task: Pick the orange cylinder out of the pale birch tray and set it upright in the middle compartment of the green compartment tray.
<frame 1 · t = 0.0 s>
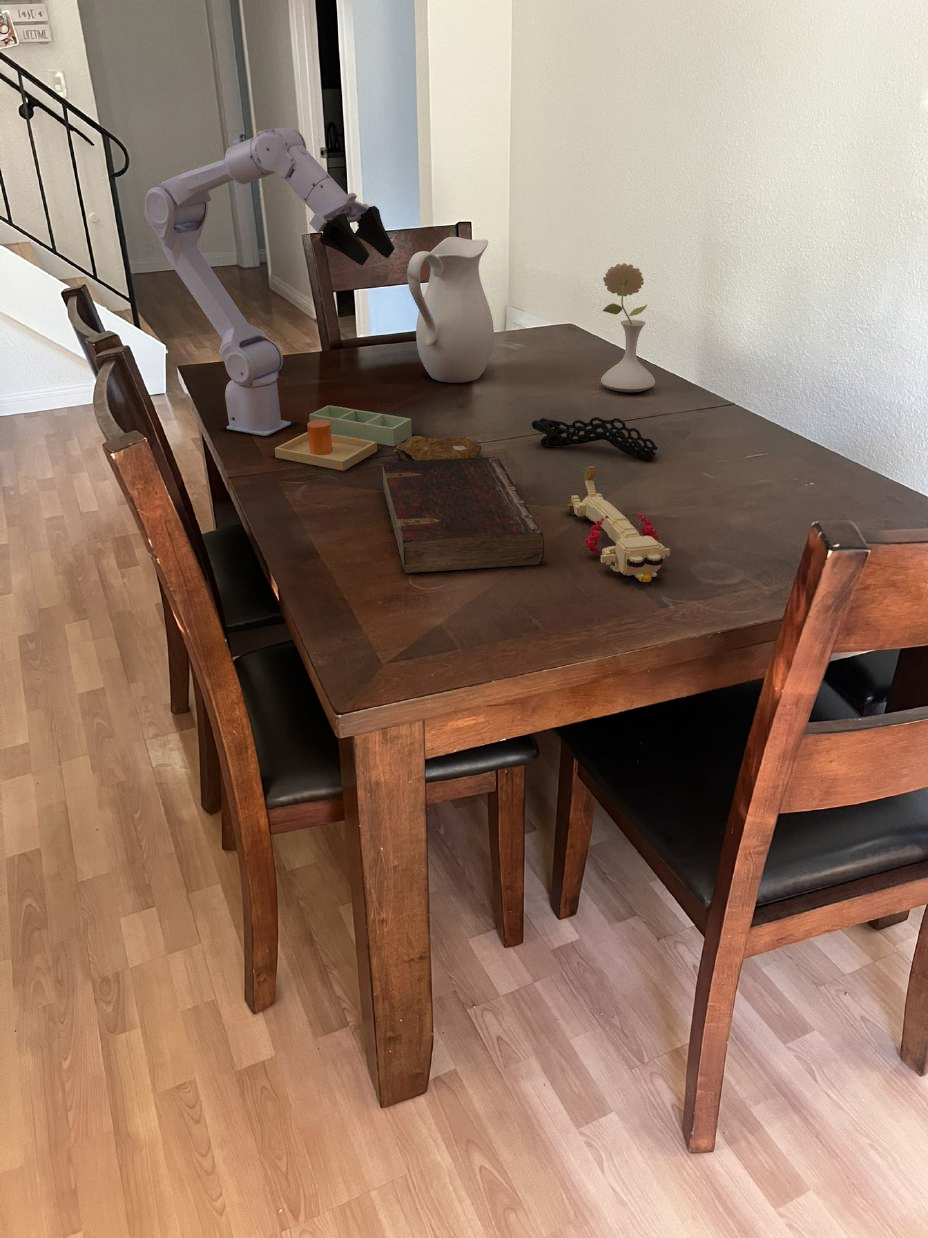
hand: (378, 256, 142), 32 cm above the table, tool tilted 50°, fingers open, 7 cm apart
orange cylinder: (321, 450, 157), resting on birch tray
birch tray: (326, 454, 157), on the table
decorative element: (591, 451, 158), on the table
hardback book: (456, 526, 132), on the table
green compartment tray: (360, 433, 167), on the table
flower in vase: (623, 389, 191), on the table
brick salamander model: (613, 548, 125), on the table
decorative rock: (438, 463, 154), on the table
pitcher: (446, 380, 197), on the table
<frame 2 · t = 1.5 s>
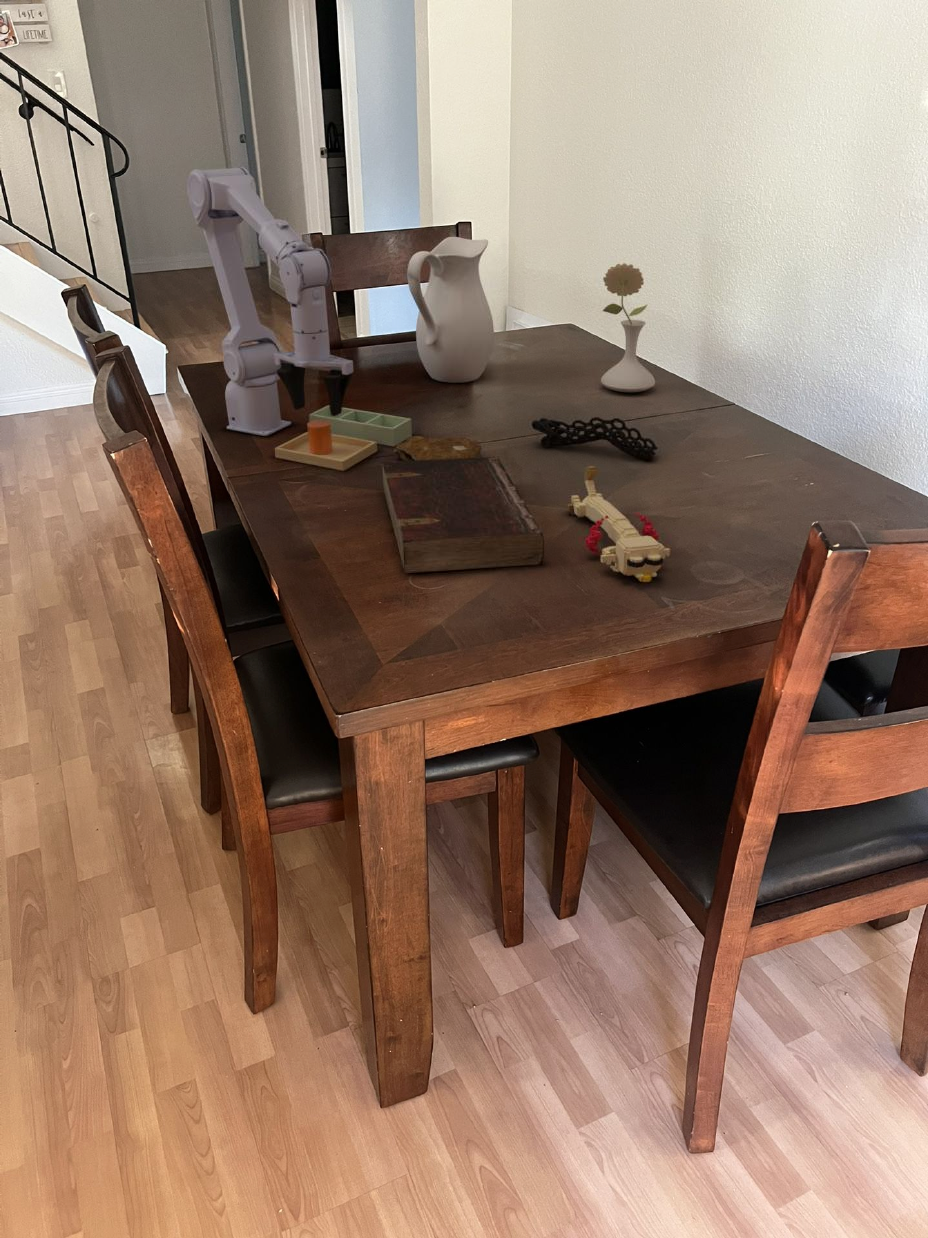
hand: (317, 411, 154), 8 cm above the table, tool pointing down, fingers open, 7 cm apart
nothing on the table moved.
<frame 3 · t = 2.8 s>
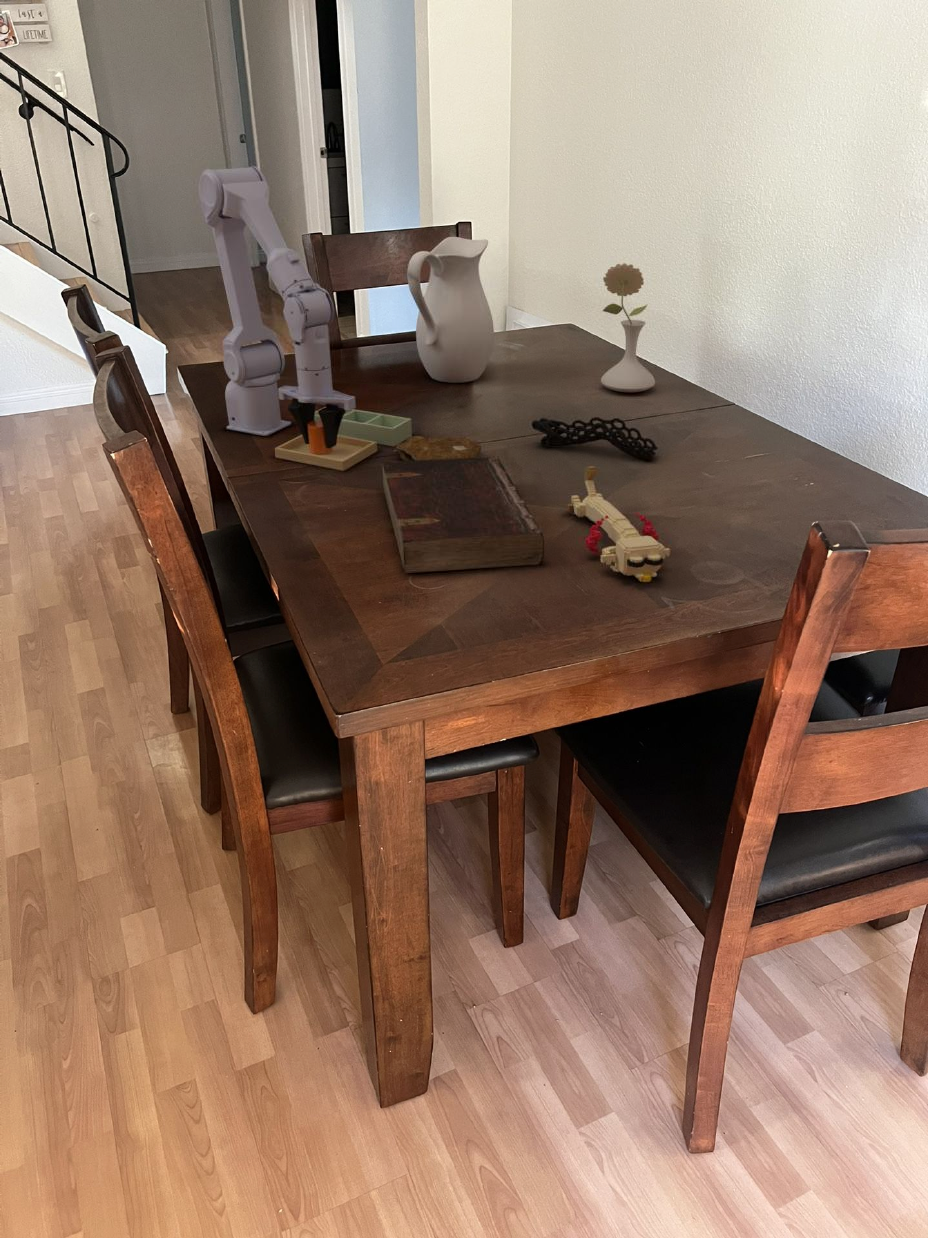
hand: (320, 444, 157), 2 cm above the table, tool pointing down, fingers closed on orange cylinder, 4 cm apart
orange cylinder: (321, 450, 157), point 1 cm above the table, touching birch tray, gripper
everything else where it was.
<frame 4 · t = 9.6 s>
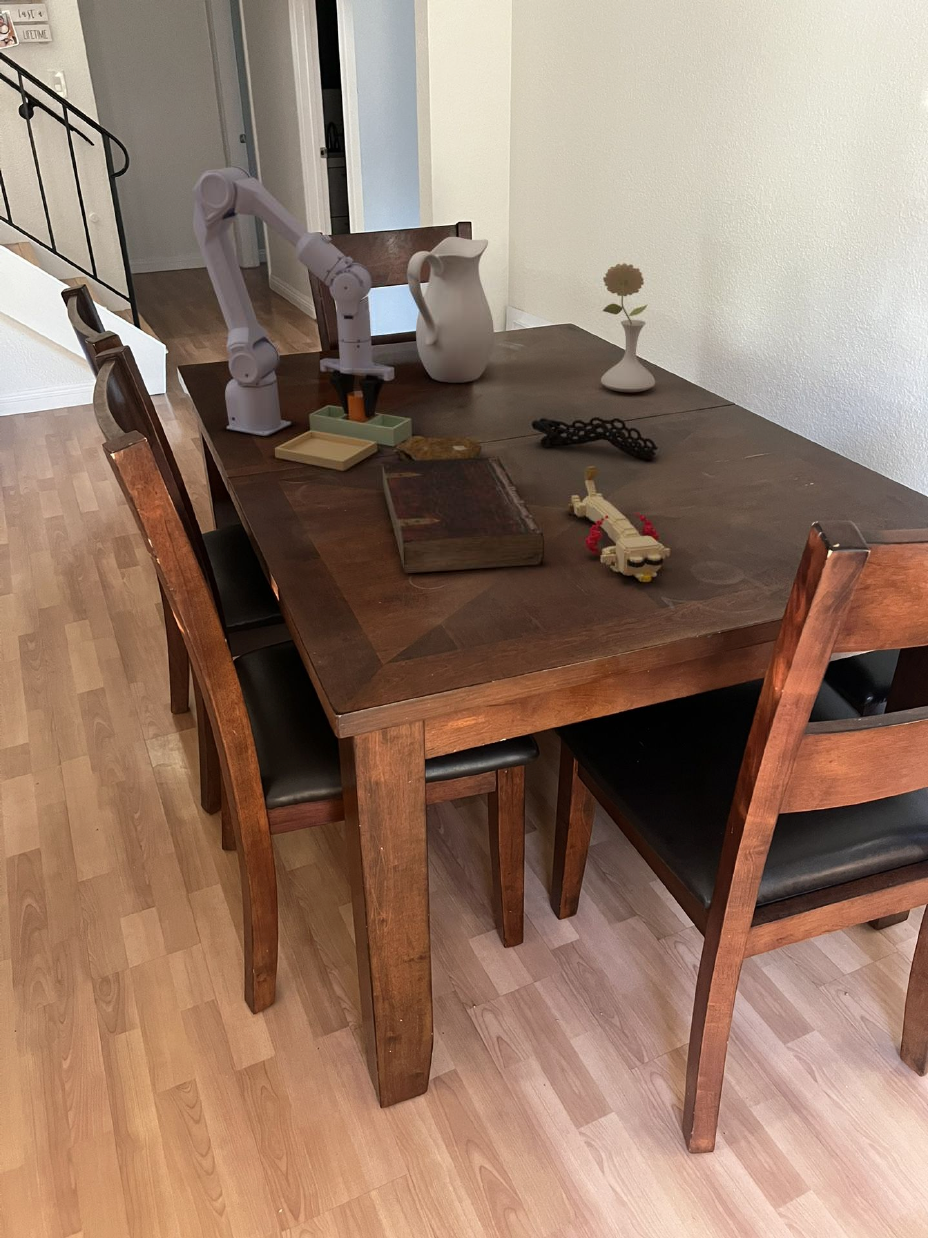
hand: (359, 414, 165), 4 cm above the table, tool pointing down, fingers closed on orange cylinder, 4 cm apart
orange cylinder: (359, 420, 165), point 2 cm above the table, touching gripper
everything else where it was.
when the fingers open (4 cm above the table, at t = 11.0 s): orange cylinder drops 2 cm, resting on green compartment tray.
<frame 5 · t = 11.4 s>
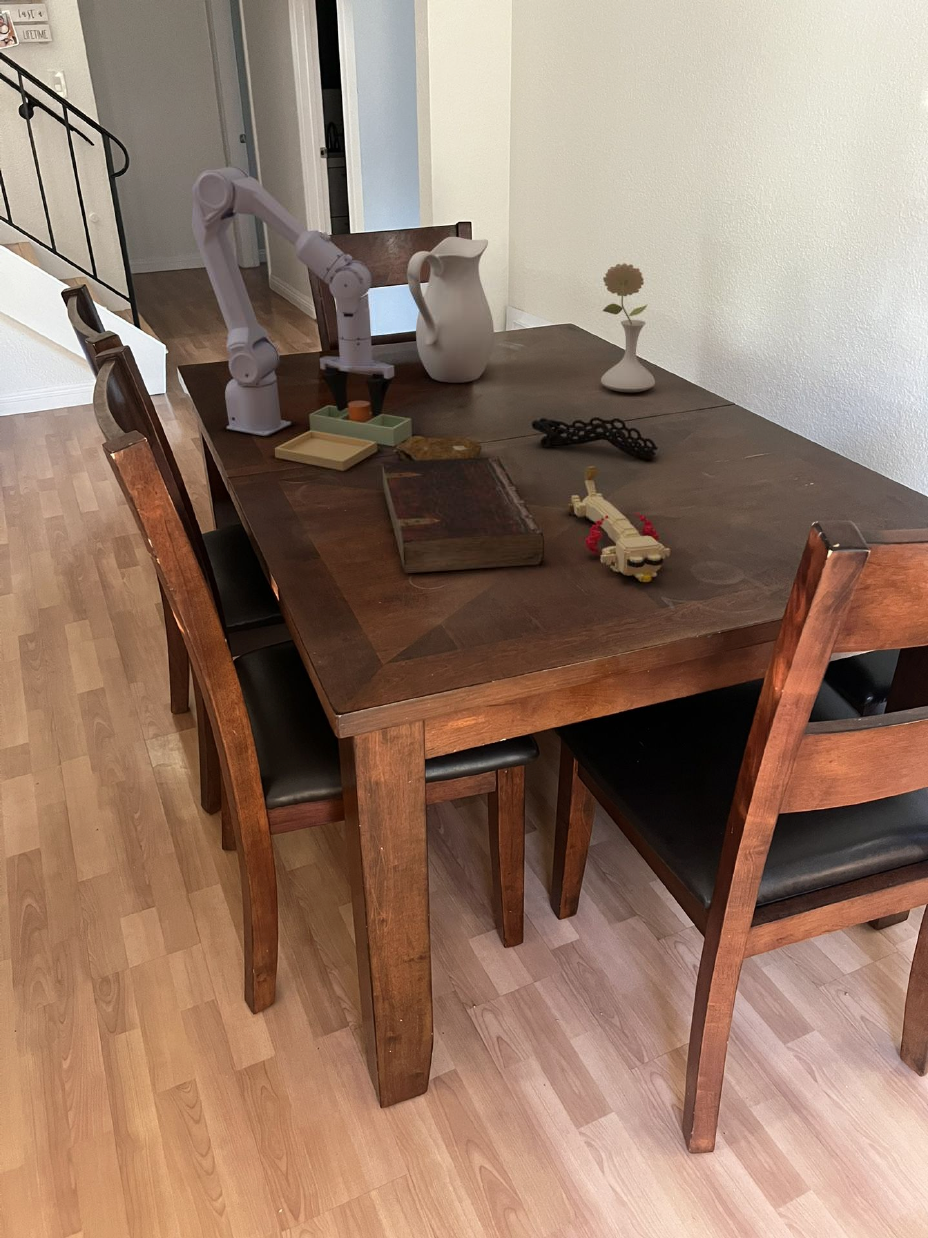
hand: (359, 412, 165), 4 cm above the table, tool pointing down, fingers open, 7 cm apart
orange cylinder: (360, 430, 166), point 1 cm above the table, touching green compartment tray
everything else where it was.
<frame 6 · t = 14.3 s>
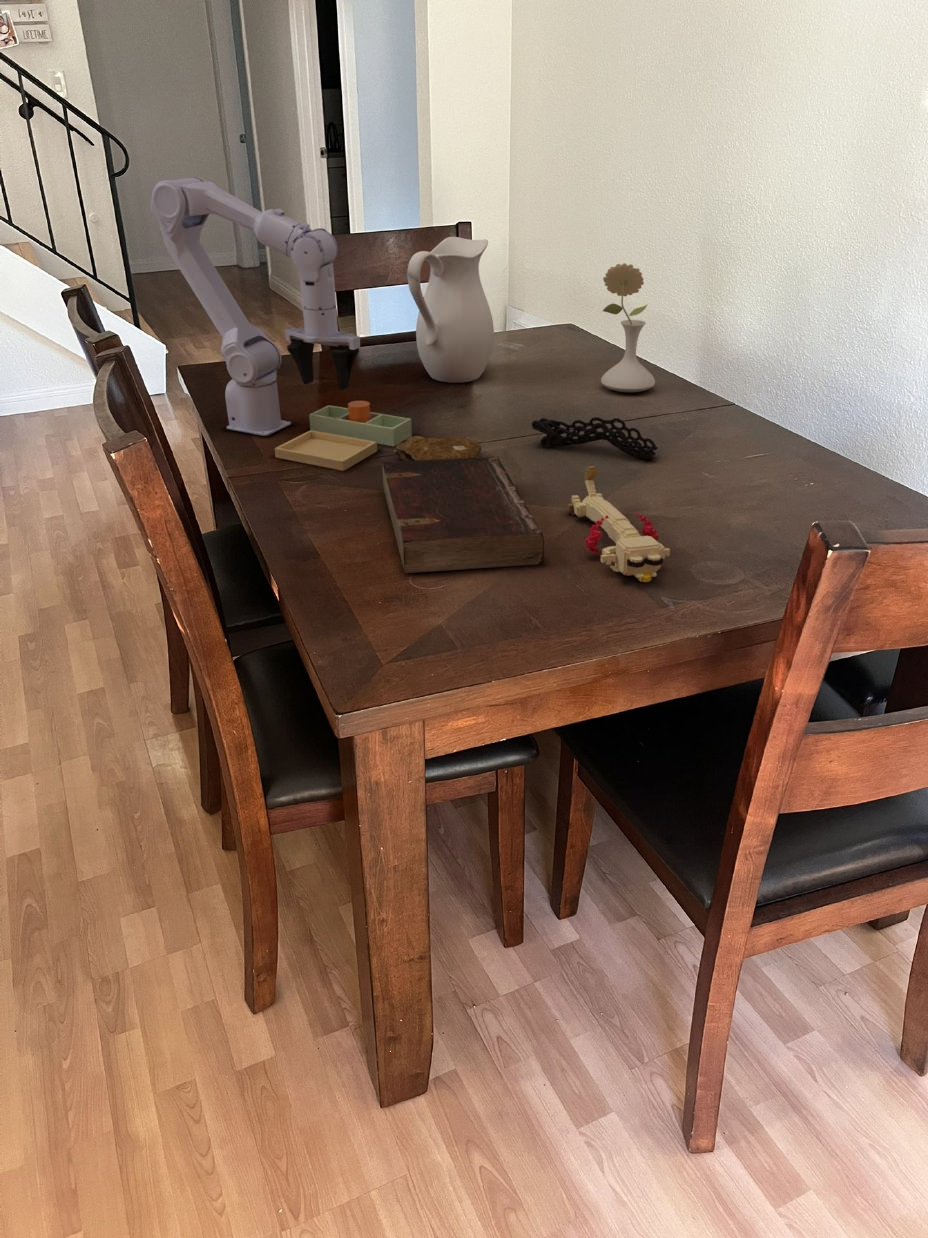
hand: (325, 385, 161), 9 cm above the table, tool pointing down, fingers open, 7 cm apart
nothing on the table moved.
at the end: orange cylinder 0.0 cm off-centre in the green compartment tray, point 0.7 cm above the green compartment tray's base; orange cylinder tilted 0°; the gripper is holding nothing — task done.
